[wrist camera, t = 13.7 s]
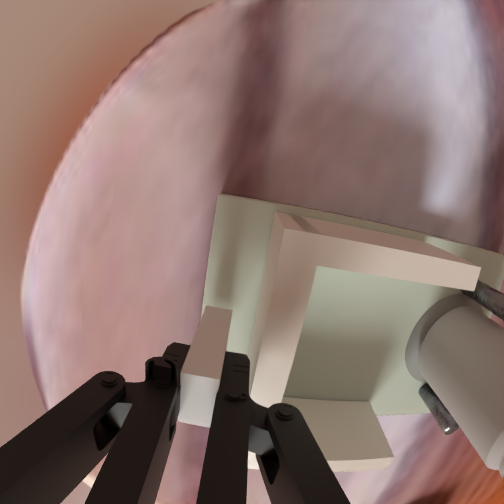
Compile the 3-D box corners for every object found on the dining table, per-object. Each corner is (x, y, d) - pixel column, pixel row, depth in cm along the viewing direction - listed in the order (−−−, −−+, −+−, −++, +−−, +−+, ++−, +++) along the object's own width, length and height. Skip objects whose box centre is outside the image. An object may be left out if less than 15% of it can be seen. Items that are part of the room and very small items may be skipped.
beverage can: (417, 312, 19) (526, 422, 7) (484, 294, 18) (594, 368, 7) (409, 385, 20) (479, 500, 8) (472, 363, 20) (552, 451, 8)
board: (498, 252, 19) (509, 257, 18) (439, 401, 23) (447, 411, 21) (221, 193, 19) (217, 194, 17) (195, 387, 22) (192, 400, 21)
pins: (476, 276, 18) (519, 300, 13) (428, 395, 21) (454, 433, 16) (463, 274, 18) (507, 298, 13) (415, 396, 21) (440, 435, 16)
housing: (424, 241, 18) (481, 267, 12) (364, 413, 21) (386, 468, 15) (275, 211, 17) (284, 228, 12) (238, 403, 20) (233, 466, 15)
